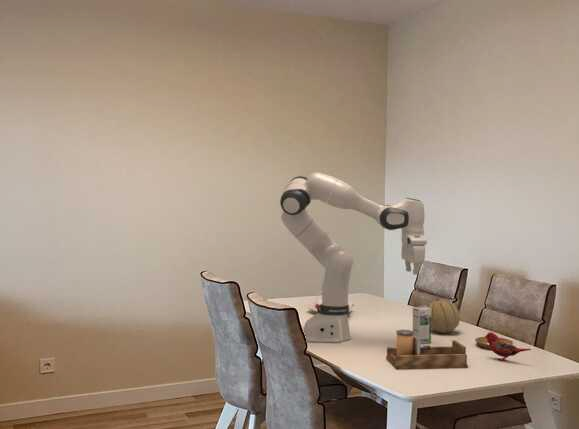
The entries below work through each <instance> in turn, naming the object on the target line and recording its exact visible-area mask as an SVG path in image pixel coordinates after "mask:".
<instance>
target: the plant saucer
mask: <svg viewBox="0 0 579 429" xmlns="http://www.w3.org/2000/svg"><path fill="white" fill-rule="evenodd" d="M499 338H500V339H501V340H503V341H505V342H508V343H510V344H512V345H513V344H514V342H513V341H512V340H511V339H508V338H505V337H504V338H503V337H499ZM474 340H475V343H476V344H477V345H478V346H479V347H480V346H481V348H482V347H483V349H485V348H487V349H486V350H491V348H490V346H489V345H488V344H487V343H488V341H487V338H486V337H485V336H480V337H476V338H475V339H474Z"/></svg>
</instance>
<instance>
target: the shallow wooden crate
mask: <svg viewBox="0 0 579 429" xmlns="http://www.w3.org/2000/svg"><path fill="white" fill-rule="evenodd" d="M451 343H452V344H451V345H450V346H449V345H448V346H447V345H445V346H441V345H440V346H430V347H431V349H430V350H420V355H396V351H397V346H395V347H394V346H393V347H392V346H391V347H386V356H385V359H386V361H388V363H390V365H392V367H394V368H395V370H396V371H397V370H433V369H435V370H436V369H438V370H439V369H442V368H443V369H468V367H469V365H468V354H467V353H466V352H467V347H466V346H465V345H463V344H462V343H460V342H459V341H458V340H452V342H451Z"/></svg>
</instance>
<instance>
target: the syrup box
mask: <svg viewBox="0 0 579 429" xmlns="http://www.w3.org/2000/svg"><path fill="white" fill-rule="evenodd" d="M412 331H413V332H414V334H415V335H416V336H417V337H419V338H420V344H431V343H432V328H431V308H429V306H425V305H424V306H413V307H412Z"/></svg>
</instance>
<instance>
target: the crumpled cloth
mask: <svg viewBox="0 0 579 429" xmlns="http://www.w3.org/2000/svg"><path fill="white" fill-rule="evenodd" d="M316 304H319V305H321V304H322V294H320V295H318V296H317V297H316V298H315V299H314V300H313V301H312V302H311V304H309V305H307V309H308V310H310V311H314V312H316V313H318V312H317V309H316V308H315V305H316ZM348 305H349V311H350V310H351V309H352V308H353V307H354V306H355V304H354V302H352V301H350V300H348Z"/></svg>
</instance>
